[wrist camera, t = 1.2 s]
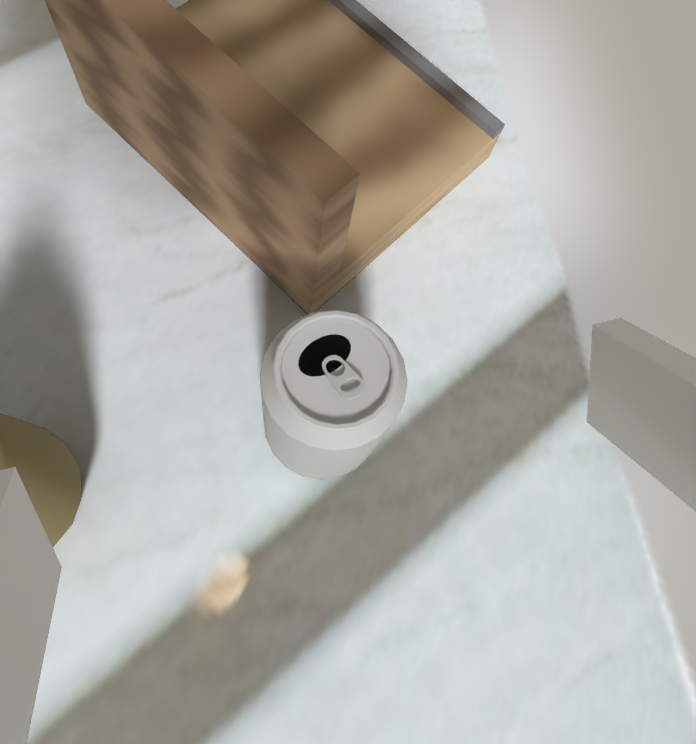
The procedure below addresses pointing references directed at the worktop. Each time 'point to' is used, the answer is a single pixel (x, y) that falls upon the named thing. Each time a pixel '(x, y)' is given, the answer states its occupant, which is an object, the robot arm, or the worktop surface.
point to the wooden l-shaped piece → (281, 123)
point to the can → (330, 392)
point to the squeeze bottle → (43, 473)
